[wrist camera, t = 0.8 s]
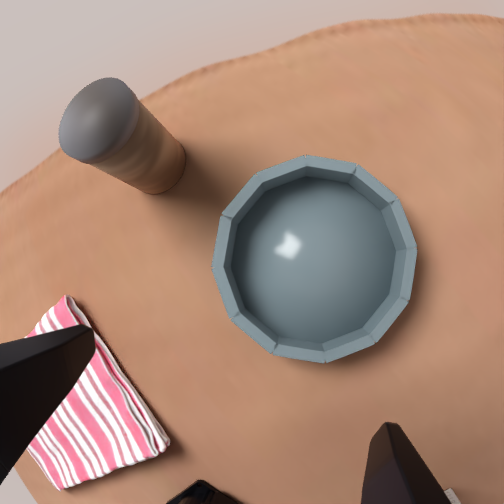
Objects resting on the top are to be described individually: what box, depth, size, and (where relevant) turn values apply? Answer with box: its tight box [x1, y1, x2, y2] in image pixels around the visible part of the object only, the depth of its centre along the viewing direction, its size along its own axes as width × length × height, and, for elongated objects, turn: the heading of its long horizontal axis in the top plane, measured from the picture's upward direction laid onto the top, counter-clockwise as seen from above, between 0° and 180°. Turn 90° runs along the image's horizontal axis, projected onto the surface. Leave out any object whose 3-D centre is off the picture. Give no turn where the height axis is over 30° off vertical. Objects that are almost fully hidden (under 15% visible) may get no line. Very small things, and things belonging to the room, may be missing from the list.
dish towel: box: [25, 295, 170, 491], centre depth 24 cm, size 17×23×4 cm
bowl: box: [211, 155, 417, 363], centre depth 21 cm, size 14×14×3 cm
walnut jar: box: [59, 78, 186, 194], centre depth 20 cm, size 5×5×10 cm
